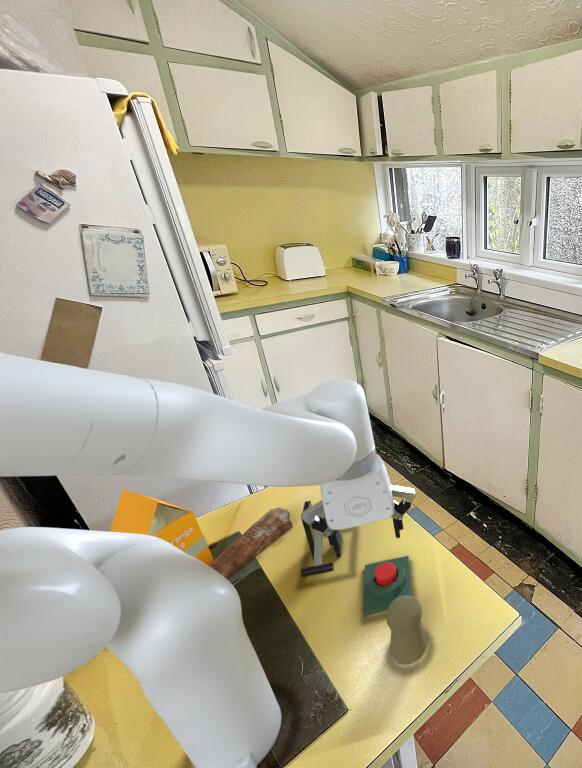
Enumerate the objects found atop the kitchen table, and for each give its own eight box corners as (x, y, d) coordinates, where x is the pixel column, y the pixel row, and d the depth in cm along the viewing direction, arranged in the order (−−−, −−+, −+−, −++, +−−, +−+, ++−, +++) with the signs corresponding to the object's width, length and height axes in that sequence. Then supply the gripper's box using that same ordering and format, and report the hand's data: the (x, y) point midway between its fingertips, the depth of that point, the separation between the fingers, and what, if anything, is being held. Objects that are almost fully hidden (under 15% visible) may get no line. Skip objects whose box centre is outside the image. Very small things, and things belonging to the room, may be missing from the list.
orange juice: (185, 554, 81) (147, 474, 72) (218, 567, 79) (183, 486, 70) (142, 587, 74) (94, 504, 65) (176, 603, 72) (131, 518, 63)
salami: (298, 530, 87) (292, 510, 85) (207, 606, 72) (197, 585, 69) (277, 520, 89) (270, 501, 87) (184, 592, 74) (173, 571, 71)
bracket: (352, 575, 78) (341, 526, 72) (300, 587, 75) (284, 536, 69) (355, 528, 88) (345, 482, 82) (309, 537, 86) (296, 490, 80)
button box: (413, 609, 72) (410, 594, 70) (364, 621, 70) (361, 606, 68) (409, 563, 80) (407, 548, 78) (366, 572, 78) (363, 558, 76)
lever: (334, 572, 72) (331, 568, 70) (303, 579, 70) (299, 575, 69) (335, 507, 79) (332, 502, 77) (306, 512, 78) (303, 507, 76)
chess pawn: (436, 649, 66) (432, 604, 61) (405, 680, 62) (398, 635, 57) (413, 625, 69) (407, 581, 64) (382, 653, 65) (373, 608, 60)
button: (397, 583, 72) (396, 576, 71) (375, 588, 71) (374, 581, 71) (396, 566, 75) (395, 559, 75) (375, 571, 74) (374, 564, 74)
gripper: (283, 487, 56) (311, 570, 64) (411, 463, 61) (422, 543, 69) (291, 455, 62) (316, 534, 71) (406, 435, 67) (417, 511, 75)
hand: (368, 538), depth 70 cm, fingers open, 9 cm apart
